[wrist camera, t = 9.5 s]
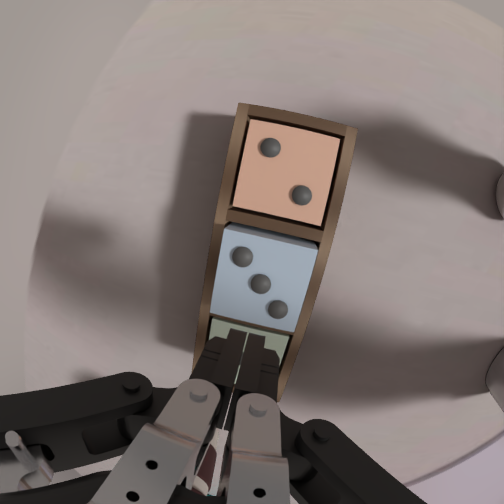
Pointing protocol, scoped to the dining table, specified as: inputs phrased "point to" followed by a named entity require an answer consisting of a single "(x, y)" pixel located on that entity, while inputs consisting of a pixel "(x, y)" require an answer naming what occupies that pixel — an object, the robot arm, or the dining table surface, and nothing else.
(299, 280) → the button three
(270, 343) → the button one
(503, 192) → the plastic bottle
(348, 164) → the dice tray set
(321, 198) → the button two
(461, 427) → the dining table surface
